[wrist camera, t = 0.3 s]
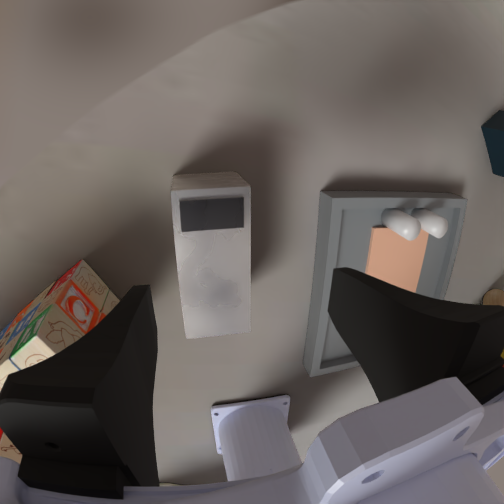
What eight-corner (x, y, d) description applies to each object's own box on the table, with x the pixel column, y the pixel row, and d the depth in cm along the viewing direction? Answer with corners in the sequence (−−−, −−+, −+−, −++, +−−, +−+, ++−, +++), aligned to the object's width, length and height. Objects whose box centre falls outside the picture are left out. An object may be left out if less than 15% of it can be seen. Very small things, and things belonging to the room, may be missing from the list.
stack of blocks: (82, 254, 20) (16, 378, 9) (137, 315, 23) (122, 454, 12) (-32, 363, 21) (-73, 448, 10) (8, 401, 24) (-19, 489, 13)
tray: (417, 335, 31) (439, 357, 27) (302, 363, 28) (318, 394, 25) (452, 193, 25) (485, 206, 21) (320, 191, 22) (348, 207, 18)
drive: (236, 291, 24) (251, 333, 19) (183, 296, 23) (186, 340, 18) (234, 171, 20) (251, 187, 16) (173, 174, 20) (170, 192, 15)
